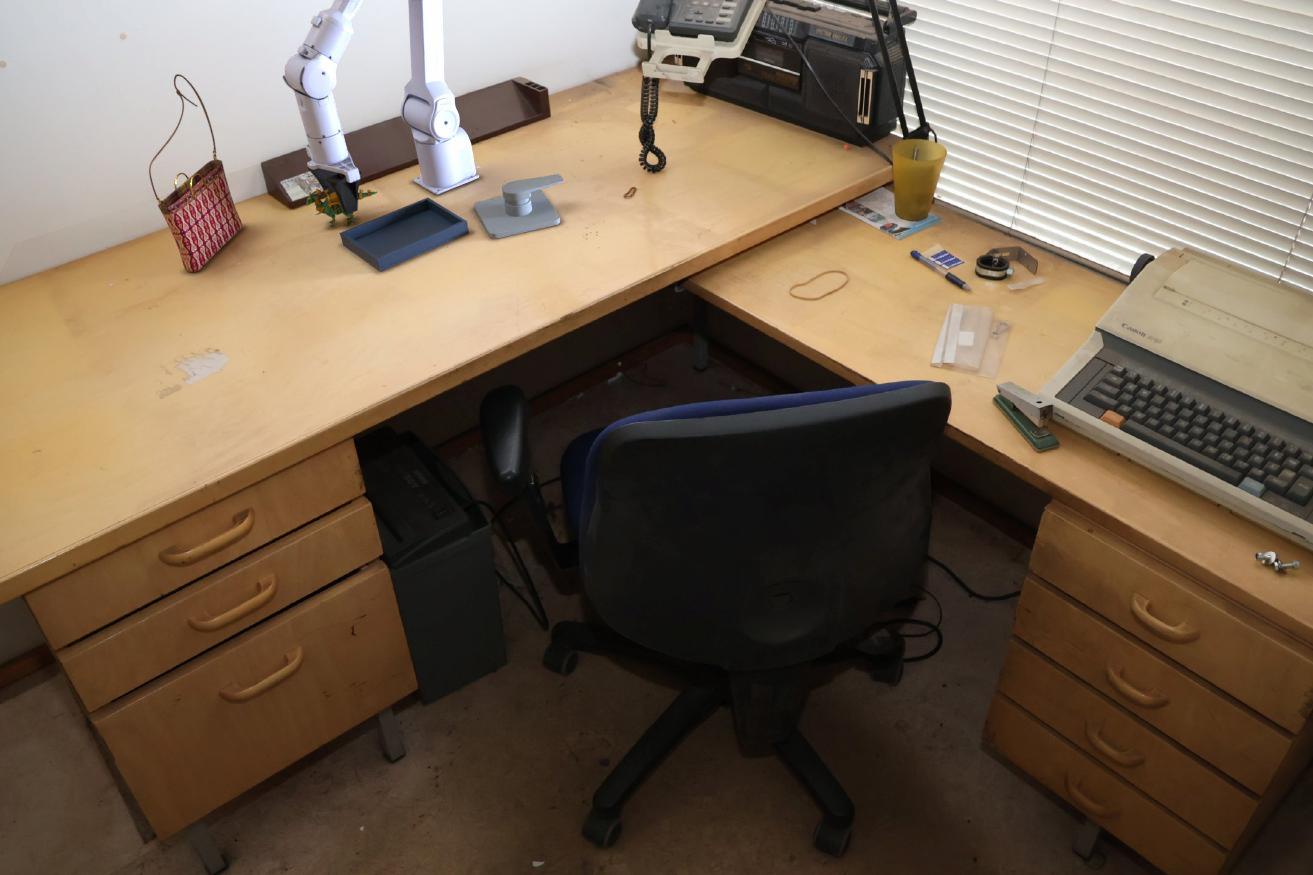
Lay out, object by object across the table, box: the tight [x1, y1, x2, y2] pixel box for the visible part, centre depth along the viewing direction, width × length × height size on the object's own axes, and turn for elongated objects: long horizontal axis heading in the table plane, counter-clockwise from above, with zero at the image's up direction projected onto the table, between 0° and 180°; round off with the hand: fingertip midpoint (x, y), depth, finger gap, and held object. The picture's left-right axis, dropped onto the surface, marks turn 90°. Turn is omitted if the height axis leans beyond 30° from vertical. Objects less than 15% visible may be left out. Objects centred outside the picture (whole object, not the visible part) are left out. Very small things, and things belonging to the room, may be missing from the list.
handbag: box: [148, 73, 243, 273], centre depth 162 cm, size 7×21×25 cm, turn 168°
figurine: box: [305, 188, 378, 228], centre depth 171 cm, size 3×12×8 cm, turn 103°
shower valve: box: [473, 173, 565, 240], centre depth 172 cm, size 12×6×15 cm
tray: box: [339, 197, 470, 272], centre depth 168 cm, size 17×12×2 cm
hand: (344, 207), depth 172 cm, fingers open, 4 cm apart
